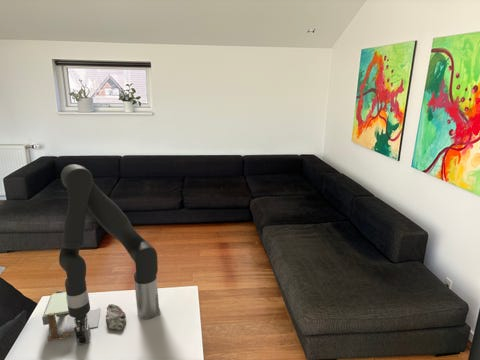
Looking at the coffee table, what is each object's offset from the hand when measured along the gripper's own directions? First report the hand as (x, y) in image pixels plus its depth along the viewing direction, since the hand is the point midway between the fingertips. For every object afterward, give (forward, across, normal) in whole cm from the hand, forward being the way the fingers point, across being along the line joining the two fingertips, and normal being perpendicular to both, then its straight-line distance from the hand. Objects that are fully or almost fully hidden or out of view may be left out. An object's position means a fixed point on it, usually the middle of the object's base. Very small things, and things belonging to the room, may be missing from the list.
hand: (83, 338), depth 136 cm
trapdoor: (-6, +12, +8) cm, 15 cm away
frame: (+1, +12, +10) cm, 15 cm away
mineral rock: (+1, +8, -12) cm, 14 cm away
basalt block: (+1, 0, 0) cm, 1 cm away
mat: (+1, +12, +2) cm, 12 cm away
